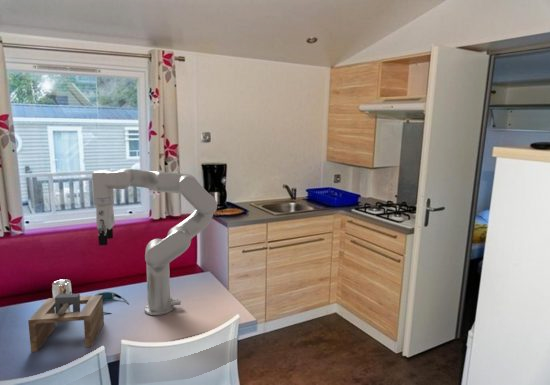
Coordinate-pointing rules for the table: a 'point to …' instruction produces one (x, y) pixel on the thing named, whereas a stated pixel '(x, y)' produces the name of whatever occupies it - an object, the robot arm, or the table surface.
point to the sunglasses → (110, 297)
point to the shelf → (47, 318)
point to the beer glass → (62, 289)
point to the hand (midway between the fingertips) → (106, 241)
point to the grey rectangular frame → (67, 301)
